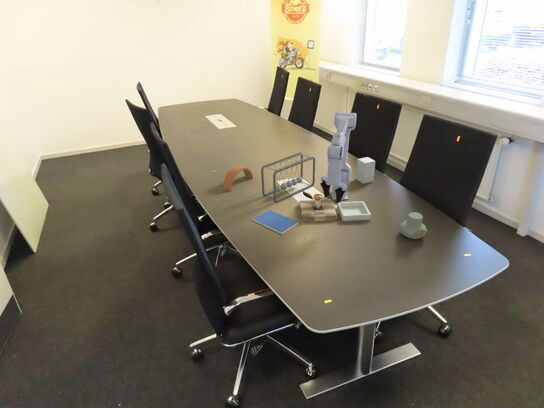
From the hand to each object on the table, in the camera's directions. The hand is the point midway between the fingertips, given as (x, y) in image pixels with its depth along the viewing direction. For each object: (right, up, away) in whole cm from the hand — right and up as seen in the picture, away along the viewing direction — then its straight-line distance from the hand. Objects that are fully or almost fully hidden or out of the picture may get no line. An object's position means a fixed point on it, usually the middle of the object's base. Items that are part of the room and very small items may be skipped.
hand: (332, 199), depth 164 cm
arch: (-47, +9, +42) cm, 64 cm away
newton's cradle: (-18, +5, +32) cm, 37 cm away
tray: (+12, -7, +9) cm, 16 cm away
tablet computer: (-26, -11, +5) cm, 29 cm away
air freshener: (+33, -16, -8) cm, 38 cm away
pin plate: (-6, -6, +11) cm, 14 cm away
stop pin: (-6, -6, +11) cm, 14 cm away
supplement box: (+25, +11, +40) cm, 49 cm away
